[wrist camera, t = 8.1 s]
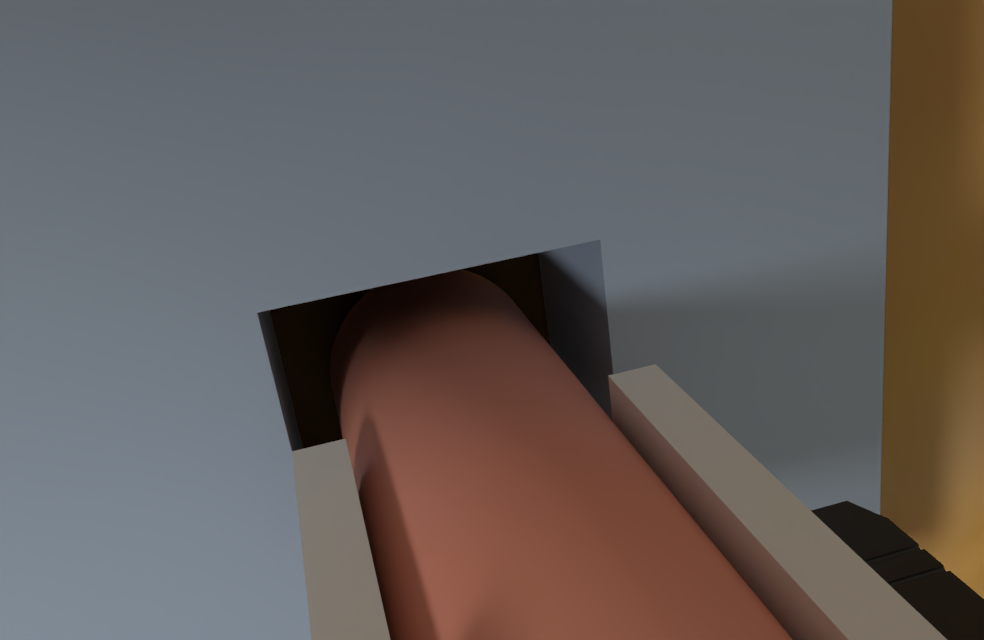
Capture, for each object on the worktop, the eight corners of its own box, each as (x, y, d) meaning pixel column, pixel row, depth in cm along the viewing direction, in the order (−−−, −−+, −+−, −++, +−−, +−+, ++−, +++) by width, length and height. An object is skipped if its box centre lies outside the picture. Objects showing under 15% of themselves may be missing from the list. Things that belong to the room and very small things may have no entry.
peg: (352, 477, 19) (586, 1551, 6) (310, 291, 17) (502, 1200, 4) (542, 430, 19) (1115, 1301, 7) (518, 247, 18) (1198, 923, 5)
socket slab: (127, 748, 21) (104, 912, 17) (-158, -5, 15) (-286, 2, 11) (778, 560, 24) (876, 666, 20) (760, -135, 18) (896, -163, 14)
